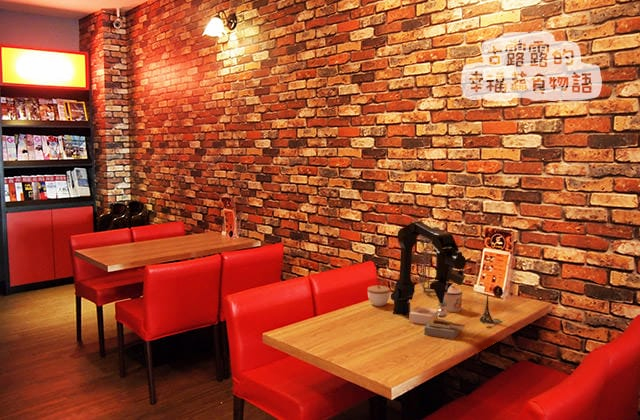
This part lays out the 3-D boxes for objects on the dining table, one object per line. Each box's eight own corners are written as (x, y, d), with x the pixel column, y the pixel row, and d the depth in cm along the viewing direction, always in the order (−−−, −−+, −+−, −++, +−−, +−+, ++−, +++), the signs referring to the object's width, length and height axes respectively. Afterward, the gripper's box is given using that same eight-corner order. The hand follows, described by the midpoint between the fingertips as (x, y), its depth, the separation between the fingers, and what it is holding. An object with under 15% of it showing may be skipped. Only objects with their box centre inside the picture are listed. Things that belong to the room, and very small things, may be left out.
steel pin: (437, 317, 220) (437, 293, 218) (439, 314, 222) (439, 291, 221) (445, 318, 218) (445, 294, 217) (447, 315, 221) (447, 292, 220)
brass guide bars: (428, 325, 220) (428, 319, 220) (432, 321, 225) (432, 314, 225) (462, 330, 214) (462, 323, 214) (465, 326, 219) (465, 319, 219)
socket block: (424, 334, 219) (424, 327, 219) (430, 326, 228) (430, 320, 228) (454, 339, 214) (454, 331, 213) (459, 331, 223) (459, 324, 222)
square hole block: (409, 322, 234) (409, 313, 234) (415, 315, 243) (415, 306, 243) (432, 325, 230) (432, 316, 229) (437, 318, 239) (438, 309, 238)
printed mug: (456, 313, 245) (457, 288, 244) (438, 310, 251) (439, 285, 249) (467, 307, 254) (468, 283, 253) (449, 303, 260) (450, 280, 258)
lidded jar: (365, 306, 257) (365, 287, 256) (370, 300, 267) (370, 281, 266) (387, 308, 254) (387, 289, 252) (391, 302, 264) (392, 283, 262)
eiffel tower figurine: (489, 330, 225) (490, 299, 224) (468, 324, 233) (468, 294, 231) (506, 321, 236) (507, 291, 234) (485, 316, 243) (486, 287, 241)
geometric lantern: (443, 289, 285) (446, 224, 280) (452, 298, 270) (456, 230, 265) (414, 289, 284) (416, 224, 279) (421, 299, 269) (424, 230, 264)
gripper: (458, 271, 206) (457, 311, 208) (468, 261, 222) (467, 298, 224) (429, 268, 211) (429, 307, 213) (441, 259, 227) (440, 295, 229)
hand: (442, 302), depth 220 cm, fingers closed on steel pin, 3 cm apart
